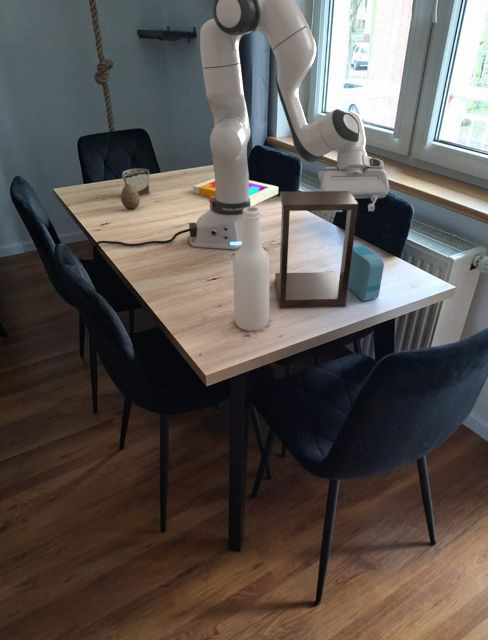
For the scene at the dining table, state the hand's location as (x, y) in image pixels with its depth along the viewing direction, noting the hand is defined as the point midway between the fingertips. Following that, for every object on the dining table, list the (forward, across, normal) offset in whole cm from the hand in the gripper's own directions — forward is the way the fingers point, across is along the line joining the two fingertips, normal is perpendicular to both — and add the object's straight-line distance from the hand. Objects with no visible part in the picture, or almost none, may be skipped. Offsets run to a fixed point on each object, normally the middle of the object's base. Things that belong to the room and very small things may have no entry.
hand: (355, 210), depth 143 cm
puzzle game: (-36, -37, +62) cm, 81 cm away
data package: (+25, 0, +1) cm, 25 cm away
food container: (-39, -77, +64) cm, 107 cm away
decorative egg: (-26, -76, +51) cm, 95 cm away
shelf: (+24, -15, +1) cm, 29 cm away
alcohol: (+35, -32, -10) cm, 49 cm away
